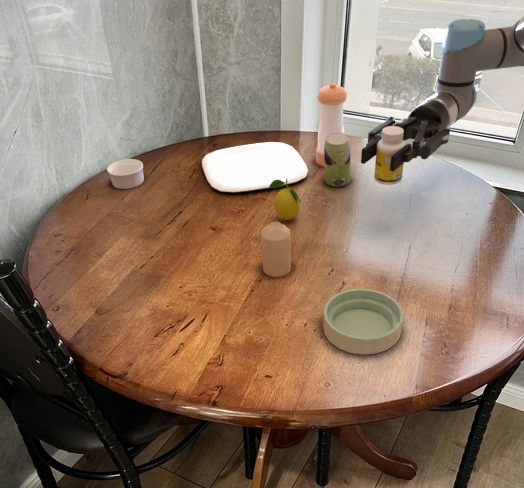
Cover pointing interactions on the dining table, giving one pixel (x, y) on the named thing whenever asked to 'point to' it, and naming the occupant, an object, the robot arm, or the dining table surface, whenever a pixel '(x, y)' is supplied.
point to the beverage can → (337, 159)
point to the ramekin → (126, 173)
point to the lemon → (286, 201)
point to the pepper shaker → (329, 116)
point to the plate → (253, 167)
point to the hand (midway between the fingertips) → (377, 160)
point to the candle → (276, 249)
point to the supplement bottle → (388, 155)
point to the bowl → (362, 321)
